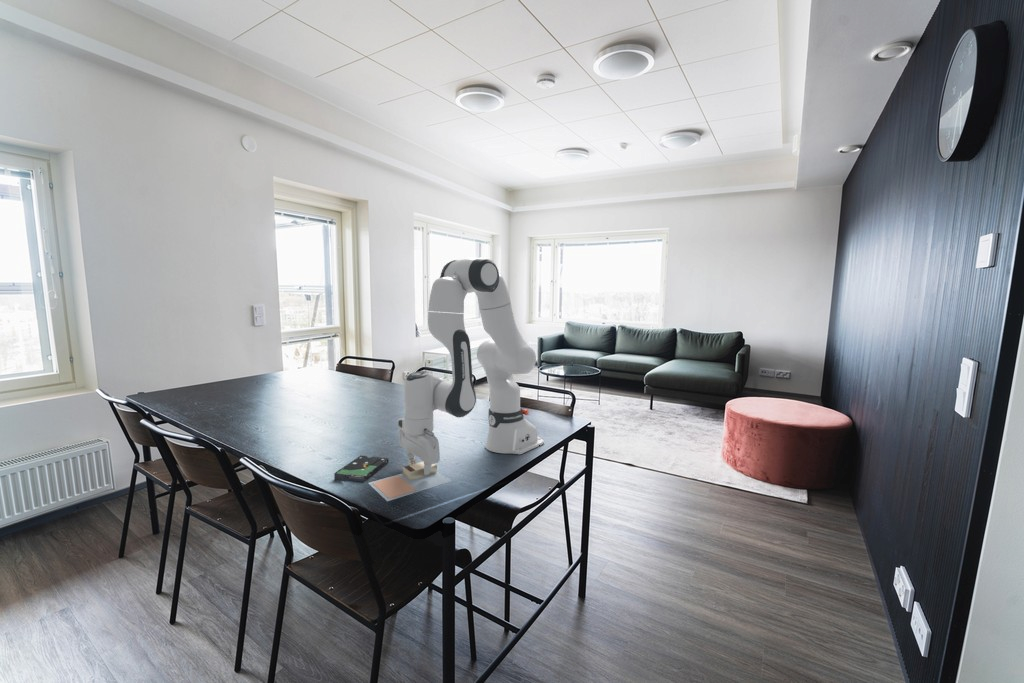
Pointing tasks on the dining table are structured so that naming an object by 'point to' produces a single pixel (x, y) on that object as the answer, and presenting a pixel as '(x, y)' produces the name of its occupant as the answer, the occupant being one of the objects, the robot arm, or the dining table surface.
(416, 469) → the cream curved ramp
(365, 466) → the disk drive
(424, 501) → the dining table surface
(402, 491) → the mat
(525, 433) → the robot arm
